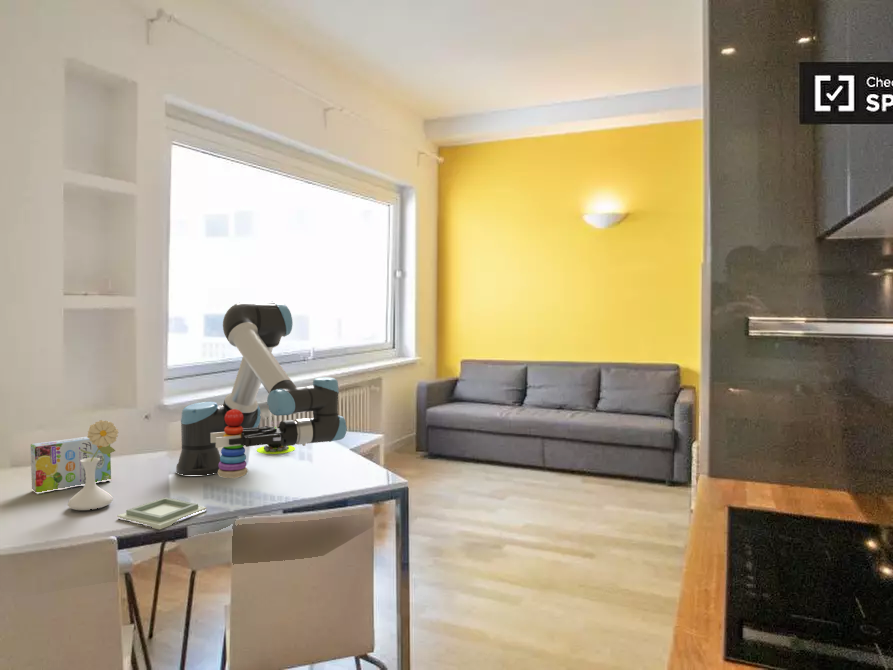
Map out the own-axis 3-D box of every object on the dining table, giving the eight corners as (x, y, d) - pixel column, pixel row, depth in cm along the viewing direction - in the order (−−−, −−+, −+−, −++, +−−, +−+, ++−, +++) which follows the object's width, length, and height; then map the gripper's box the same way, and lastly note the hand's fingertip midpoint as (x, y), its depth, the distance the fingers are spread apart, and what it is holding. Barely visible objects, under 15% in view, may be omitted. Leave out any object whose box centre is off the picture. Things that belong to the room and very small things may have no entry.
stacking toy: (238, 480, 178) (238, 413, 177) (212, 477, 180) (211, 411, 179) (252, 472, 186) (252, 407, 185) (227, 470, 188) (227, 406, 186)
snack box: (105, 478, 214) (105, 433, 213) (111, 482, 210) (110, 436, 209) (31, 491, 199) (30, 442, 198) (35, 495, 195) (34, 446, 194)
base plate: (117, 519, 175) (117, 510, 175) (166, 503, 190) (165, 495, 190) (159, 529, 168) (159, 520, 168) (206, 511, 183) (206, 503, 183)
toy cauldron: (257, 446, 263) (257, 419, 263) (295, 445, 267) (295, 418, 266) (255, 455, 249) (255, 426, 248) (295, 453, 252) (295, 425, 251)
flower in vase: (65, 516, 177) (63, 425, 176) (70, 503, 188) (68, 418, 186) (118, 510, 183) (117, 422, 181) (120, 498, 193) (119, 415, 192)
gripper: (305, 451, 184) (221, 461, 172) (284, 438, 200) (206, 446, 188) (305, 425, 184) (221, 433, 172) (284, 414, 200) (206, 421, 188)
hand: (213, 440), depth 180 cm, fingers closed on stacking toy, 6 cm apart
